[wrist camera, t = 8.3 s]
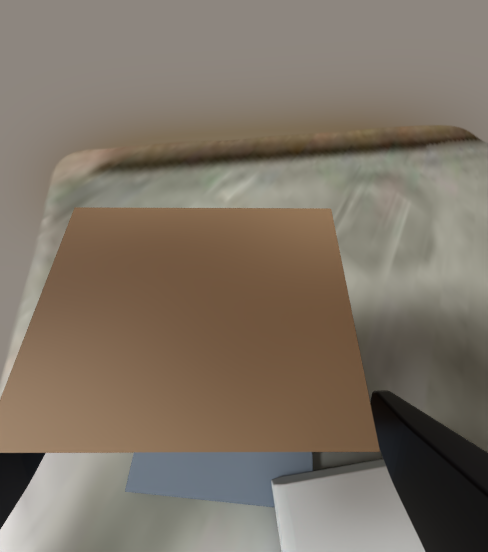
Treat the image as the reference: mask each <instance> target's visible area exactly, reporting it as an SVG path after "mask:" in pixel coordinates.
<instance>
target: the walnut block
mask: <svg viewBox="0 0 488 552" xmlns="http://www.w3.org/2000/svg"><path fill="white" fill-rule="evenodd" d="M116 452H380V449H379V444H378V439H377V434H376V429H375V424H374V419H373V415H372V410H371V405H370V400H369V395H368V390H367V385H366V380H365V375H364V370H363V365H362V360H361V355H360V350H359V345H358V340H357V335H356V330H355V325H354V320H353V315H352V310H351V305H350V301H349V296H348V291H347V286H346V281H345V276H344V271H343V266H342V261H341V256H340V251H339V246H338V241H337V236H336V231H335V226H334V221H333V216H332V211H331V209H290V208H74V211H73V213H72V216H71V218H70V221H69V224H68V226H67V229H66V231H65V234H64V236H63V239H62V242H61V244H60V247H59V249H58V252H57V255H56V257H55V260H54V262H53V265H52V267H51V270H50V273H49V275H48V278H47V280H46V283H45V285H44V288H43V291H42V293H41V296H40V298H39V301H38V304H37V306H36V309H35V311H34V314H33V316H32V319H31V322H30V324H29V327H28V329H27V332H26V334H25V337H24V340H23V342H22V345H21V347H20V350H19V352H18V355H17V358H16V360H15V363H14V365H13V368H12V371H11V373H10V376H9V378H8V381H7V383H6V386H5V389H4V391H3V394H2V396H1V399H0V453H116Z"/></svg>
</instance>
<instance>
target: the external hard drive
mask: <svg viewBox="0 0 488 552" xmlns="http://www.w3.org/2000/svg"><path fill="white" fill-rule="evenodd" d="M271 484H272V491H273V498H274V505H275V511H276V518H277V525H278V532H279V538H280V545H281V551H282V552H425V550H424V548H423V546H422V543H421V541H420V539H419V537H418V535H417V533H416V531H415V529H414V527H413V525H412V523H411V520H410V518H409V516H408V514H407V512H406V510H405V508H404V506H403V504H402V502H401V500H400V498H399V495H398V493H397V491H396V489H395V487H394V485H393V482H392V480H391V478H390V475H389V473H388V470H387V467H386V465H385V462H384V459H379V460H374V461H368V462H362V463H356V464H351V465H345V466H340V467H334V468H328V469H323V470H317V471H311V472H306V473H299V474H294V475H288V476H282V477H278V478H274V479H272V480H271Z"/></svg>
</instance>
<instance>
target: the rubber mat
mask: <svg viewBox="0 0 488 552" xmlns="http://www.w3.org/2000/svg"><path fill="white" fill-rule="evenodd" d="M311 471H313V463H312V452H134V455H133V459H132V463H131V468H130V472H129V476H128V481H127V485H126V489H125V492H135V493H144V494H154V495H163V496H173V497H182V498H191V499H201V500H210V501H220V502H229V503H239V504H248V505H257V506H267V507H275V505H274V498H273V491H272V484H271V480H272V479H274V478H278V477H282V476H288V475H294V474H299V473H306V472H311Z"/></svg>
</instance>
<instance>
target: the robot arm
mask: <svg viewBox="0 0 488 552" xmlns="http://www.w3.org/2000/svg"><path fill="white" fill-rule="evenodd" d="M370 405H371V410H372V415H373V419H374V424H375V429H376V434H377V439H378V444H379V448H380V451H381V454H382V457H383V459H384V462H385V465H386V467H387V470H388V473H389V475H390V478H391V480H392V482H393V485H394V487H395V489H396V491H397V493H398V495H399V498H400V500H401V502H402V504H403V506H404V508H405V510H406V512H407V514H408V516H409V518H410V520H411V523H412V525H413V527H414V529H415V531H416V533H417V535H418V537H419V539H420V541H421V543H422V546H423V548H424V550H425V552H488V453H487V452H486V451H484V450H482V449H481V448H479V447H478V446H476V445H474V444H473V443H471V442H470V441H468V440H466V439H465V438H463V437H462V436H460V435H458V434H457V433H455V432H454V431H452V430H450V429H449V428H447V427H446V426H444V425H443V424H441V423H439V422H438V421H436V420H435V419H433V418H431V417H430V416H428V415H427V414H425V413H423V412H422V411H420V410H419V409H417V408H415V407H414V406H412V405H411V404H409V403H408V402H406V401H404V400H403V399H401V398H400V397H398V396H396V395H395V394H393V393H392V392H390V391H386V390H381V391H374V392H373V393H372V397H371V403H370ZM44 455H45V453H0V529H1V527H2V526H3V524H4V523H5V521H6V520H7V518H8V516H9V515H10V513H11V512H12V510H13V509H14V507H15V505H16V504H17V502H18V501H19V499H20V498H21V496H22V494H23V493H24V491H25V489H26V488H27V486H28V484H29V483H30V481H31V479H32V477H33V476H34V474H35V472H36V470H37V468H38V466H39V464H40V462H41V461H42V459H43V457H44Z"/></svg>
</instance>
